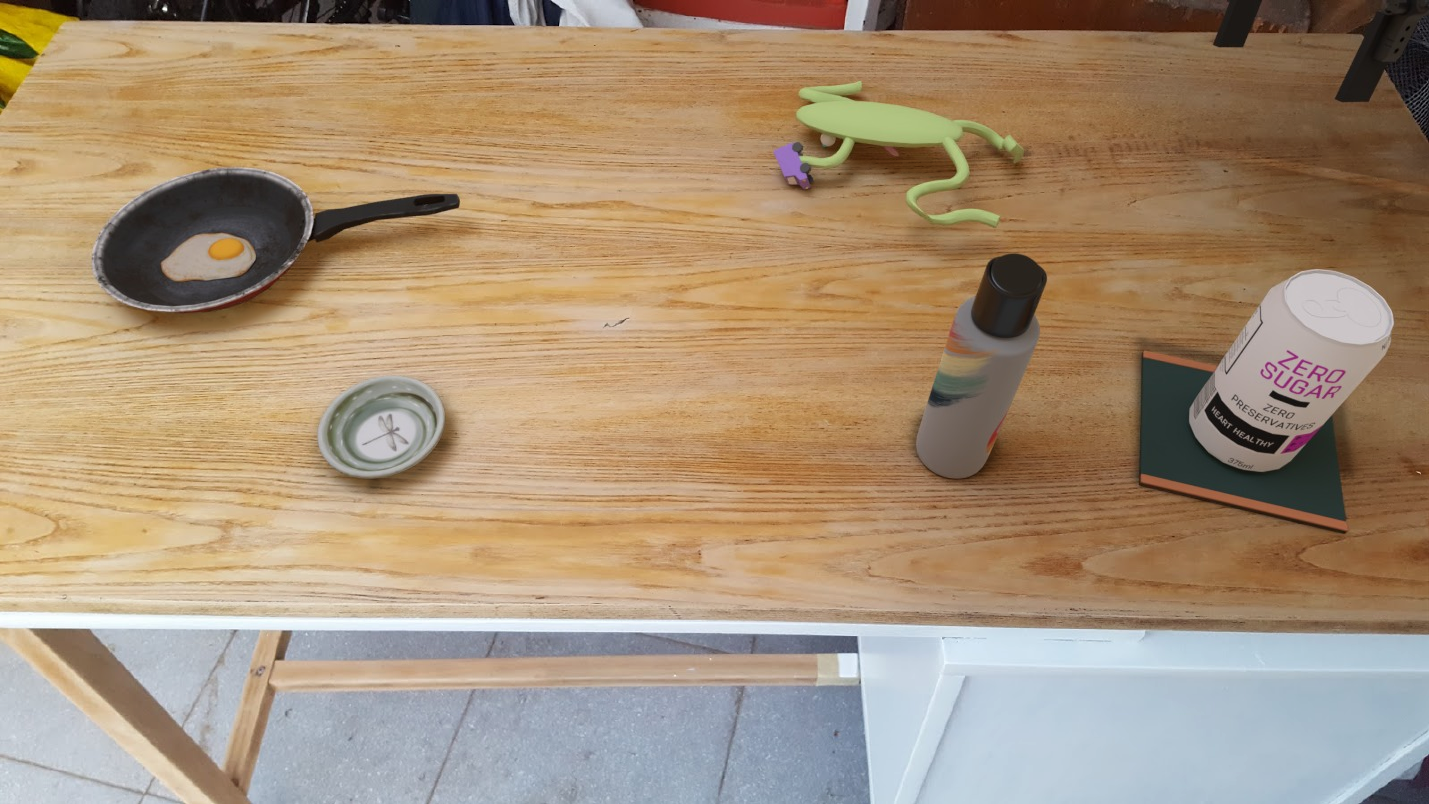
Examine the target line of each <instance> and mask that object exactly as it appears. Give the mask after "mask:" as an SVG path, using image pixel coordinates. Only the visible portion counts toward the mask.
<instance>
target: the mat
mask: <svg viewBox="0 0 1429 804" xmlns="http://www.w3.org/2000/svg"><path fill="white" fill-rule="evenodd" d="M1217 367H1218V365H1215V364H1211V363H1210V364H1209V363H1205V362H1200V361H1196V360H1192V359H1187V358H1182V357H1178V356H1172V355H1168V354H1163V353H1159V352H1154V351H1149V350H1143V351H1142V352H1141V370H1140V371H1141V373H1140V375H1141V378H1140V385H1141V386H1140V420H1139V421H1140V422H1139V423H1140V424H1139V426H1140V427H1139V467H1138V468H1139V470H1138V471H1139V472H1138V473H1139V474H1138V485H1139V486H1142V487H1146V488H1150V489H1154V490H1159V491H1164V492H1168V493H1172V494H1176V495H1180V496H1185V497H1187V498H1188V497H1189V498H1192V499H1196V500H1200V501H1204V502H1210V503H1214V504H1219V505H1222V506H1227V507H1230V508H1234V509H1240V510H1243V511H1248V512H1252V513H1255V514H1259V515H1260V514H1261V515H1265V516H1268V517H1274V518H1278V519H1282V520H1286V521H1290V522H1294V523H1298V524H1303V525H1306V526H1311V527H1314V528H1315V527H1316V528H1320V529H1324V530H1328V531H1332V532H1337V533H1340V534H1346V533H1347V532H1348V531H1349V528H1348V521H1347V517H1346V511H1345V502H1344V495H1343V487H1342V481H1341V473H1340V464H1339V457H1338V449H1337V442H1336V435H1335V434H1336V433H1335V428H1334V427H1335V426H1334V420H1333V414H1332V415H1331V416H1330V417H1329V419H1328V420H1327V421H1326V422H1325V423H1324V424H1323V425H1322V426H1321V428H1320V429H1319V430H1318V431H1317V432H1316V433H1315V434H1314V435H1313V437H1312V438H1311V439H1310V440H1309V441H1308V442H1307V443H1306V444H1305V446H1304V447H1303V448H1302V449H1301V450H1300V451H1299V452H1298V453H1297V455H1296V456H1295V457H1294V458H1293V459H1292V460H1291V461H1290V462H1288V463H1287V464H1285V465H1284V466H1282V467H1281V468H1279V469H1275V470H1270V471H1265V472H1259V471H1250V470H1243V469H1239V468H1236V467H1234V466H1231V465H1228V464H1226V463H1223V462H1222V461H1220V460H1219V459H1217V458H1216V457H1214V456H1213V455H1211V454H1210V453H1209V452H1208V451H1207V450H1206V449H1205V448H1204V447H1203V445H1202V444H1201V443H1200V442H1199V441H1198V439H1197V438H1196V437H1195V435H1194V433H1193V430H1192V428H1191V425H1190V423H1189V411H1190V407H1191V406H1192V404H1193V402H1194V401H1195V399H1196V397H1197V396H1198V394H1199V393H1200V391H1201V390H1202V388H1203V387H1204V386H1205V384H1206V383H1207V381H1208V380H1209V378H1210V377H1211V375H1212V374H1213V372H1214V371H1215V369H1216V368H1217Z"/></svg>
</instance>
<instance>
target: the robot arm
mask: <svg viewBox="0 0 1429 804" xmlns="http://www.w3.org/2000/svg"><path fill="white" fill-rule="evenodd" d="M1226 2H1227V3H1228V5H1227V7H1226V10H1225V12H1224V14H1223V17H1222V20H1221V23H1220V26H1219V28H1218V30H1217V33H1216V36H1215V38H1214V41H1213V42H1212V46H1214V47H1217V48H1244V46H1245V44H1246V41H1247V39H1248V36H1249V34H1250V32H1251V29H1252V27H1253V24H1254V22H1255V19H1256V17H1257V14H1258V12H1259V9H1260V8H1261V5H1262V2H1263V0H1226ZM1388 5H1389V6H1388V7H1386V8H1384V9H1382V10H1376V11H1375V13H1374V15H1373V18H1372V20H1371V22H1370V24H1369V26H1368V28H1367V31H1366V33H1365V35H1364V37H1363V39H1362V41H1361V43H1360V45H1359V47H1358V49H1357V51H1356V53H1355V56H1354V58H1353V59H1352V61H1351V64H1350V66H1349V68H1348V70H1347V71H1346V74H1345V76H1344V78H1343V80H1342V82H1341V84H1340V86H1339V88H1338V90H1337V93H1336V95H1335V97H1334V100H1336V101H1338V102H1340V103H1369V101H1370V100H1371V99H1372V96H1373V94H1374V92H1375V90H1376V88H1377V86H1378V85H1379V83H1380V80H1381V78H1382V77H1383V75H1384V72H1385V71H1386V69H1387V66H1388V64H1389V63H1395V62H1397V60H1399V58H1400V57H1401V56H1402V55H1403V53H1404V51H1405V48H1406V47H1407V45H1408V42H1409V41H1410V40H1411V38H1412V35H1413V33H1414V32H1415V30H1416V27H1417V26H1418V24H1419V22H1420V21H1421V20H1422V18H1424V17H1425V16H1427V15H1429V0H1388Z"/></svg>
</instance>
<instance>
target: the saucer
mask: <svg viewBox="0 0 1429 804" xmlns="http://www.w3.org/2000/svg"><path fill="white" fill-rule="evenodd" d="M445 426H446V411H445V407H444V403H443V401H442V398H440V396H439V395H438V393H437V392H436V391H435V390H434V389H433V388H432V387H431V386H430V385H428V384H427V383H425V382H423V381H422V380H420V379H417V378H413V377H410V376H405V375H381V376H376V377H373V378H368V379H365V380H363V381H361V382H357V383H356V384H354V385H352V386H350V387H349V388H347V389H346V390H344V391H343V392H341V393H340V394H339V395H338V396H336V397H335V398H334V400H333V401H331V403H330V404H329V405H328V406H327V407H326V409H325V410H324V412H323V414H322V415H321V418H320V420H319V423H318V428H317V433H316V438H317V440H316V441H317V446H318V450H319V452H320V454H321V456H322V457H323V460H325V462H326V463H327V464H328V465H329V466H330V467H331V468H333V469H334V470H336V471H337V472H339V473H340V474H343V475H345V476H349V477H353V478H357V479H366V480H367V479H380V478H387V477H392V476H394V475H397V474H400V473H403V472H405V471H407V470H409V469H410V468H412V467H414V466H416V465H418V464H419V463H420V462H421V461H423V460H425V458H426V457H428V455H429V454H431V452H432V451H433V450H434V449H435V448H436V447H437V445H438V443H439V442H440V440H441V438H442V436H443V433H444V430H445Z"/></svg>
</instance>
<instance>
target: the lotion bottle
mask: <svg viewBox="0 0 1429 804" xmlns="http://www.w3.org/2000/svg"><path fill="white" fill-rule="evenodd" d="M1047 282H1048V275H1047V272H1046V271H1045V269H1044V268H1043V267H1042V266H1040V265H1039V264H1038V263H1037V262H1036V261H1035V260H1034V259H1033V258H1031V257H1030V256H1027V255H1025V254H1022V253H1017V252H1016V253H1014V252H1013V253H1005V254H1003V255H1000V256H996V257H993V258H991V259H990V260H989V261H988V262H987V264H986V267H985V269H984V272H983V274H982V278H981V280H980V283H979V285H978V288H977V291H976V294H975V295H974V296H971V297H969V298H967V299H966V300H964V302H962V303H961V304H960V305H959V307H958V308H957V310H956V312H955V315H954V317H953V320H952V324H951V327H950V329H949V333H948V335H947V338H946V339H947V340H946V343H945V345H944V349H943V352H942V355H941V359H940V361H939V364H938V367H937V371H936V374H935V377H934V381H933V383H932V387H931V390H930V393H929V396H928V399H927V403H926V406H925V408H924V412H923V415H922V418H921V422H920V425H919V428H918V430H917V436H916V441H915V449H916V453H917V456H918V457H919V460H920V462H921V463H922V464H923V465H924V466H925V467H926V468H927V469H928V470H930V471H931V472H932V473H934V474H936V475H939V476H940V477H943V478H948V479H953V480H954V479H956V480H957V479H965V478H969V477H972V476H974V475H975V474H977V473H978V472H980V470H982V469H983V467H984V466H985V464H986V462H987V460H988V458H989V456H990V454H991V453H992V452H991V451H992V450H993V447H994V445H995V443H996V440H997V438H998V436H999V433H1000V431H1001V429H1002V427H1003V424H1004V422H1005V420H1006V417H1007V415H1008V413H1009V411H1010V408H1011V406H1012V403H1013V401H1014V398H1015V396H1016V394H1017V392H1018V390H1019V387H1020V385H1021V382H1022V380H1023V379H1024V376H1025V373H1026V371H1027V368H1028V366H1029V364H1030V361H1031V359H1032V357H1033V355H1034V352H1035V350H1036V347H1037V345H1038V342H1039V341H1040V340H1039V339H1040V336H1041V326H1040V322H1039V320H1038V318H1037V316H1036V314H1035V313H1036V311H1037V308H1038V306H1039V305H1040V304H1039V303H1040V301H1041V298H1042V296H1043V293H1044V290H1045V289H1046V285H1047Z"/></svg>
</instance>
